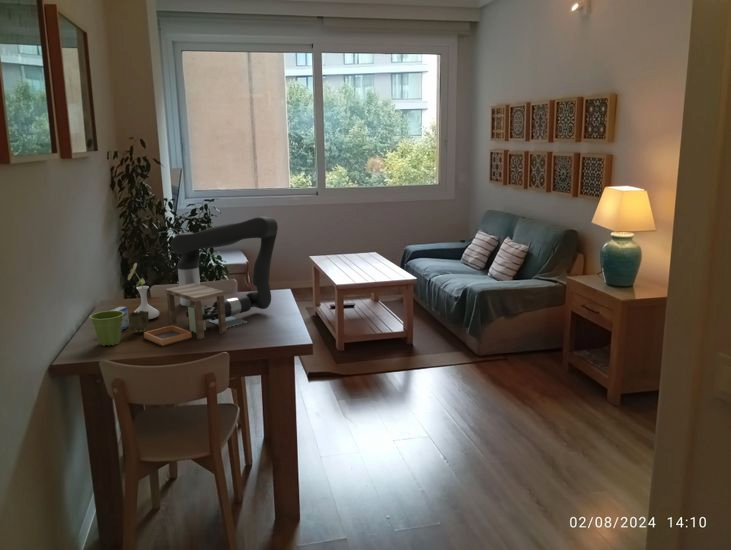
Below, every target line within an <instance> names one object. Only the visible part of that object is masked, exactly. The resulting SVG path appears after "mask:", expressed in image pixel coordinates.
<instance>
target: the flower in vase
mask: <svg viewBox="0 0 731 550" xmlns="http://www.w3.org/2000/svg"><path fill="white" fill-rule="evenodd" d="M137 266H138V263H137V262H135V263H134V264H133V266H132V268H131V269H130V273H129V274H128V275H127V279H126V280H128V281H130V280H131V279H132V277H133V275H134V274H135V275H136V277H137V278H138V282H137V283H136V285H135V287H136V290H137V291H138V292H139V295H140V304H139V306H138V308H136V309H135V310H134V311H133V312H135V313H136V312H138V313H139V312H140V311H144V312H145V311H146V312H147V311H148V312H149V314H148V321H149V320H152V319H155V318H158V317H159V316H160V311H159V310H158V309H156V308H154V307H153V306H151V305H150V304H149V303H148V298H147V292H148V289H150V287H149V286H148V285H145V284H146V281H145V279H144V278H143V277H141V278H140V277H139V275H138V274H137V272H136V269H137Z"/></svg>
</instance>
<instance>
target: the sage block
mask: <svg viewBox="0 0 731 550" xmlns="http://www.w3.org/2000/svg"><path fill="white" fill-rule="evenodd" d="M204 306H205V305H202V315H203V314H205V312H204ZM187 312H188V315H189V317H188V324H189V331H190V330H191V331H190V332H192V331H193V333H195V332H196V323H195V312H194V305H192V306H187ZM206 325H207V323H206V320H204V321H203V328H204V330H205V331H207V327H206Z"/></svg>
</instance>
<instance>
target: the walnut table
mask: <svg viewBox="0 0 731 550" xmlns="http://www.w3.org/2000/svg"><path fill="white" fill-rule="evenodd" d="M164 291H165V292H164V293H165V294H166V300H167V301H166V302H167V303H166V304H167V313H168V322H169V326H171V325H173V326H176V327H178V325H177V324H178V323H177V322H178V321H177V314H176V304H175V303H176V302H175V297H178V298H180V297H181V298H184V299H187V300H190V306H192V305H194V312H195V323H196V333H195V334H196V339H197V340H199V339H201V340H203V338H204V339H205V331H204V328H203V317H202V306H203V305H202V303H201V301H204V300H208V299H212V298H216V301H217V309H218V322H219V325H218V331H219V333H220V332H221V334H224V333H223V332H225V333H227V332H226V331H227V328H226V318H225V305H224V299H225V295H226V294H225V293H226V292H225V290H221V289H217V288H214V287H211V286H206V285H204V284H200V285H199V284H196V283H192V284H187V285H182V286H179V285H178V286H174V287H173V286H172V287H168V288H165V289H164Z"/></svg>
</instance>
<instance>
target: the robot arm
mask: <svg viewBox="0 0 731 550" xmlns="http://www.w3.org/2000/svg"><path fill="white" fill-rule="evenodd" d="M278 225H279V224H278V222H277V220H276V219H275V218H273V217H272V216H271V217H270V216H256V217H254V218H251V219H247V220H243V221H241V222H232V223H225V224H220V225H214V226H212V227H209V228H207V229H206V228H205V229H204V230H200V231H198V232H192V231H187V232H183V233H179V234H176V235H175V236H174V237H173V238H171V242H170V247H171V249H172V251H173V252H175V253H176V254H179V255H182V256H181V257H180V259H179V260H178V262H177V264H176V266H177V274H178V275H177V276H178V286H182V285H187V284H192V283H196V284H199V285H201V280H200V268H199V263H200V257H201V256H200V250H201V249H214V248H219V247H220V248H221V247H227V246H231V245H234V244H236V243H238V242H240V241H242V240H247V239H260V247H259V251H258V254H257V255H256V256H257V257H256V259H255V262H254V264H253V272H252V284H253V286H255V287H256V289H257V290H253V291H250V292H247V293H245V294H243V295H240V296H239V295H238V296H236V297H229V298H224V305H225V318H227V317H234V316H236V315H240V314H242V313H246V312H248V311H250V310H251V308H256V309H260V310H265V309H268V308H269V307H270V305H271V302H272V292H271V287H270V273H271V262H272V256H273V251H274V247H275V243H276V238H277V235H278V229H279V227H278ZM179 300H180V305H181V306H182V307H188V306H190V300H187V299H184V298H181V297H179ZM202 301H203V300H201V304H202ZM203 306H204V312H205V314H203V315H202V317H203V321H204V320H205V321H209V320H216V319H218V309H217V300H216V301H214V303H213V304H212V306H209V305H208V306H207V305H203ZM185 317H186V318H189V315H188V311H186V313H185Z"/></svg>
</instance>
